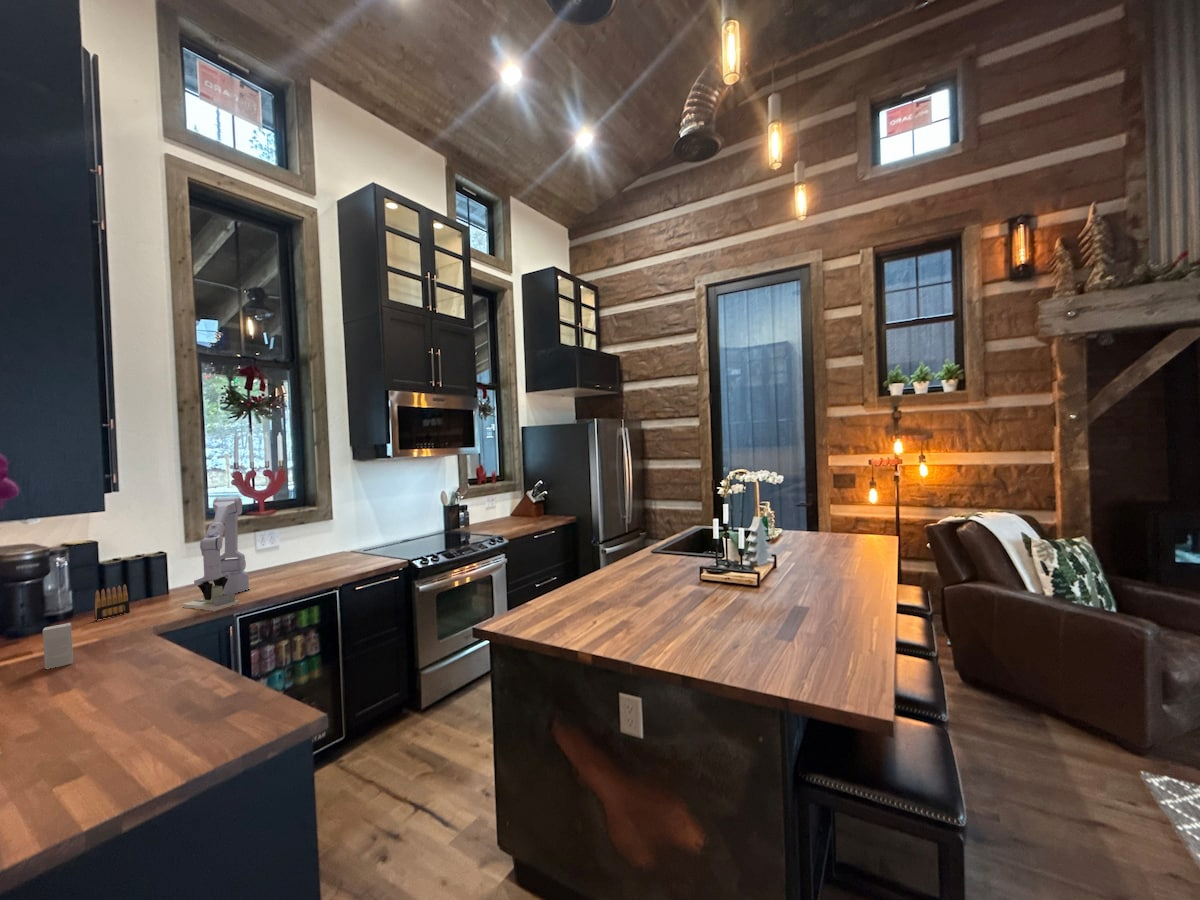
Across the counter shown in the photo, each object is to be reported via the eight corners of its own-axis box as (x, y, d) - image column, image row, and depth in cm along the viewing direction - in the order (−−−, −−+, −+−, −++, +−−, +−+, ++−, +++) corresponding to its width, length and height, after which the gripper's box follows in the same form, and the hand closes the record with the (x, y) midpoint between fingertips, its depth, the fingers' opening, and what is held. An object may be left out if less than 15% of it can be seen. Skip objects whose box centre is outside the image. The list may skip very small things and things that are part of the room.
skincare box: (73, 660, 162) (71, 622, 162) (73, 663, 159) (71, 625, 159) (45, 666, 158) (43, 627, 158) (44, 670, 155) (42, 630, 155)
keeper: (213, 599, 220) (212, 585, 220) (222, 600, 218) (222, 586, 218) (203, 602, 216) (202, 587, 216) (212, 603, 214) (212, 588, 214)
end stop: (231, 600, 218) (230, 592, 218) (235, 601, 217) (234, 593, 217) (213, 605, 212) (213, 597, 212) (217, 606, 211) (217, 597, 211)
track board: (207, 600, 226) (207, 596, 226) (239, 603, 219) (239, 599, 219) (182, 607, 217) (182, 603, 217) (214, 611, 209) (214, 606, 209)
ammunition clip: (96, 621, 202) (95, 590, 202) (94, 621, 203) (92, 590, 203) (130, 612, 212) (128, 583, 212) (127, 612, 213) (126, 583, 213)
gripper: (220, 561, 225) (221, 592, 225) (187, 569, 211) (188, 602, 211) (233, 561, 223) (235, 593, 224) (201, 569, 209) (203, 603, 209)
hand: (213, 597), depth 217 cm, fingers closed on keeper, 4 cm apart
